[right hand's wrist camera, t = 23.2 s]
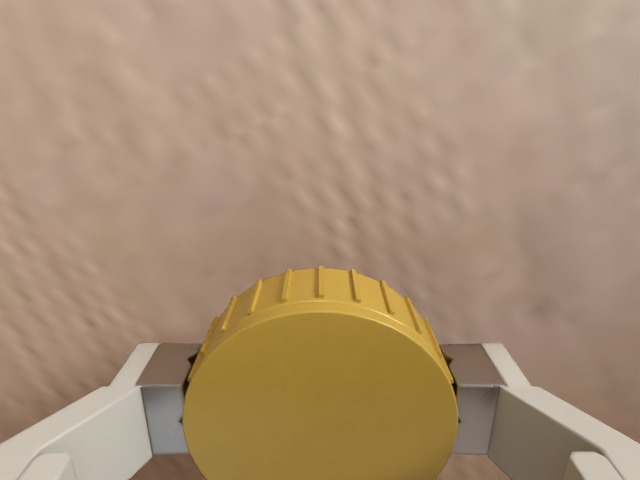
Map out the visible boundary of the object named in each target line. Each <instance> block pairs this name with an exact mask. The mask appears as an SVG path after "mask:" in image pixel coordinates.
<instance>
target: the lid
mask: <svg viewBox="0 0 640 480" xmlns="http://www.w3.org/2000/svg"><path fill="white" fill-rule="evenodd" d="M187 381H188V382H190V383H189V386H188V388H187V391H186V394H185V399H184V403H183V414H182V423H183V432H184V437H185V441H186V444H187V448H188V450H189V453H190V455H191V457H192V459H193V461H194V463H195V464H196V466H197V468H198V469H199V471H200V472H201V474H202V475H203V476H204V477H205V478H206V479H207V480H435V479H436V478H437V476H438V475H439V473H440V472H441V471H442V469H443V468H444V466H445V465H446V463H447V461H448V459H449V457H450V455H451V453H452V450H453V447H454V444H455V441H456V436H457V430H458V407H457V401H456V396H455V393H454V390H453V387H452V385H451V384H453V383H454V381H453V378H452V376H451V373H450V371H449V369H448V366H447V364H446V362H445V359H444V357H443V355H442V352H441V350H440V348H439V345H438V343H437V341H436V338H435V336H434V334H433V331H432V329H431V327H430V324H429V322H428V320H427V319H426V318H425V319H422V318H421V316H420V315H419V314H418V312H417V311H416V310H415V308H414V307H413V305H412V302H411V300H410V298H408V297H406V298H404V297H402V296H401V295H400V294H398V293H397V292H396V291H394V290H393V289H391V288H390V287H388V286H387V284H386V282H385V281H383V280H381V282H379V281H377V280H374V279H372V278H369V277H367V276H364V275H361V274H357V272H356V270H354V269H351V272H350V271H345V270H337V269H325V268H324V266H319V268H313V269H303V270H296V271H291V269H287V270H286V273H283V274H280V275H277V276H274V277H271V278H269V279H266V280H264V281H262V280H261V279H259V280H257V281H256V284H255V285H254V286H252V287H251V288H249V289H248V290H247V291H245V292H244V293H242V294H241V295H240V296H238V297H236V296H233V297H232V298H231V301H230V303H229V306H228V307H227V308H226V309H225V311H224V312H223V313H222V314H221V316H220V317H219V318H218V317H215V318H214V320H213V322H212V324H211V327H210V329H209V331H208V333H207V336H206V338H205V340H204V342H203V344H202V347H201V349H200V351H199V353H198V356H197V358H196V360H195V363H194V365H193V367H192V369H191V372H190V374H189V376H188V379H187Z"/></svg>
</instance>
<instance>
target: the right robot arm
mask: <svg viewBox="0 0 640 480" xmlns="http://www.w3.org/2000/svg"><path fill="white" fill-rule="evenodd" d="M438 345H439V348H440V350H441V352H442V355H443V357H444V359H445V362H446V364H447V366H448V369H449V371H450V373H451V376H452V378H453V381H454V383H453V384H451V385H452V387H453V390H454V393H455V396H456V401H457V407H458V430H457V436H456V441H455V444H454V447H453V450H452V453H451V454H474V455H488V457H489V458H490V459H491V460H492V461H493V462H494V463H495V464H496V465H497V466H498V467H499V468H500V469H501V470H502V471H503V472H504V473H505V474H506V475H507V476H508V477H510V478H511V479H512V480H640V443H638V442H636V441H634V440H632V439H631V438H629V437H627V436H625V435H624V434H622V433H620V432H618V431H617V430H615V429H613V428H611V427H609V426H608V425H606V424H604V423H602V422H601V421H599V420H597V419H595V418H593V417H592V416H590V415H588V414H586V413H585V412H583V411H581V410H579V409H577V408H576V407H574V406H572V405H570V404H569V403H567V402H565V401H563V400H562V399H560V398H558V397H556V396H554V395H553V394H551V393H549V392H547V391H546V390H544V389H542V388H540V387H534V386H531V384H530V383H529V382H528V380H527V379H526V377H525V376H524V374H523V373H522V372H521V370H520V369H519V367H518V366H517V364H516V363H515V361H514V360H513V359H512V357H511V356H510V354H509V353H508V351H507V350H506V348H505V347H504V346H503V345H502V344H501V343H478V344H438ZM201 347H202V344H184V343H162V344H161V343H140V344H138V345H137V346H136V347H135V349H134V350H133V351H132V353H131V354H130V356H129V357H128V359H127V360H126V362H125V363H124V365H123V366H122V367H121V369H120V370H119V372H118V373H117V375H116V376H115V378H114V379H113V381H112V382H111V383H110V385H109V386H107V387H100V388H98V389H97V390H95V391H93V392H91V393H89V394H88V395H86V396H84V397H82V398H81V399H79V400H77V401H75V402H73V403H72V404H70V405H68V406H66V407H65V408H63V409H61V410H59V411H57V412H56V413H54V414H52V415H50V416H49V417H47V418H45V419H43V420H41V421H40V422H38V423H36V424H34V425H33V426H31V427H29V428H27V429H25V430H24V431H22V432H20V433H18V434H17V435H15V436H13V437H11V438H9V439H8V440H6V441H4V442H2V443H1V444H0V480H129V479H130V478H131V477H132V476H133V475H134V474H135V473H136V472H137V471H138V470H139V469H140V468H142V467H143V466H144V465H145V464H146V463H147V462H148V461H149V460H150V459H151V458H152V455H166V454H190V453H189V450H188V448H187V444H186V441H185V437H184V432H183V423H182V414H183V403H184V399H185V394H186V391H187V388H188V386H189V383H190V382H188V381H187V379H188V376H189V374H190V372H191V369H192V367H193V365H194V363H195V360H196V358H197V356H198V353H199V351H200V349H201Z"/></svg>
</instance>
